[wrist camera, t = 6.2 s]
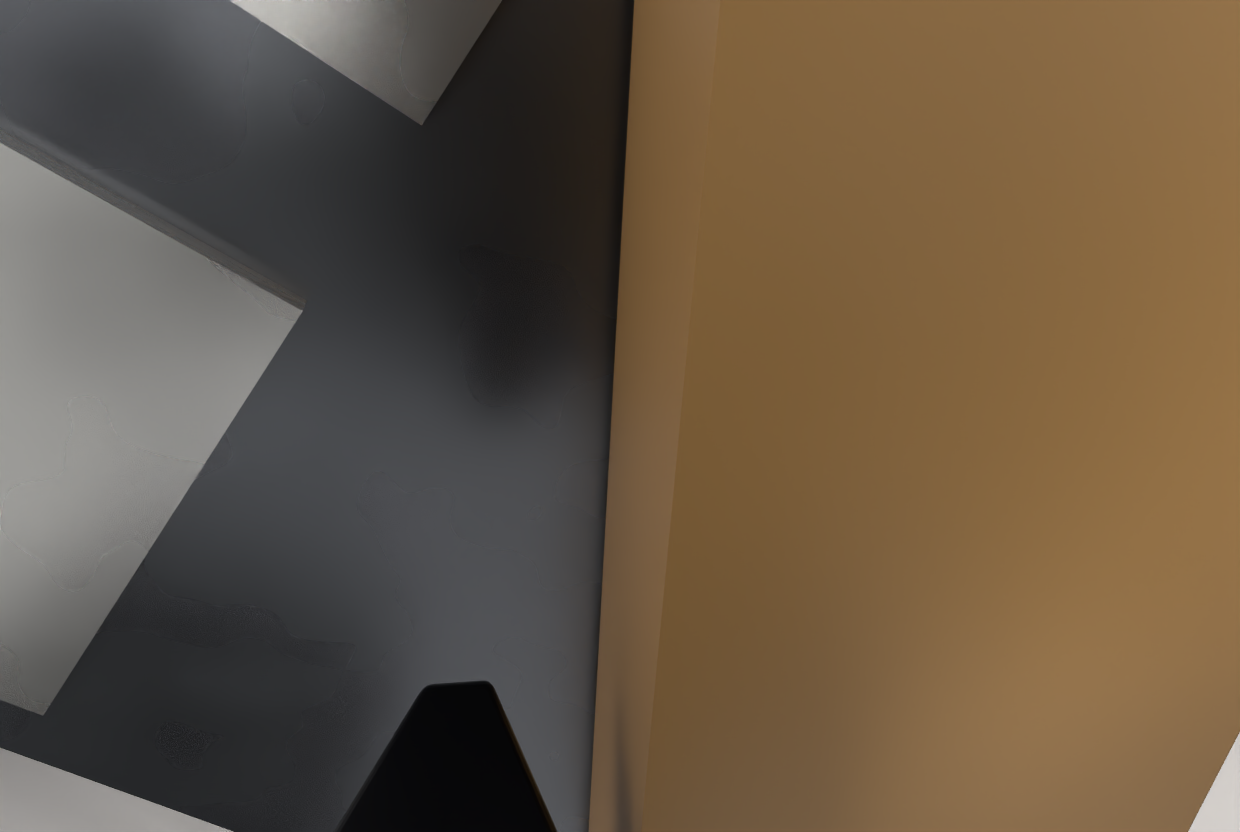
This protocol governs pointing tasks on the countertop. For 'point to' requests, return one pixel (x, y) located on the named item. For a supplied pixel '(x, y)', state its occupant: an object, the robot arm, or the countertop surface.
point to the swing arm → (924, 419)
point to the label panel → (304, 386)
